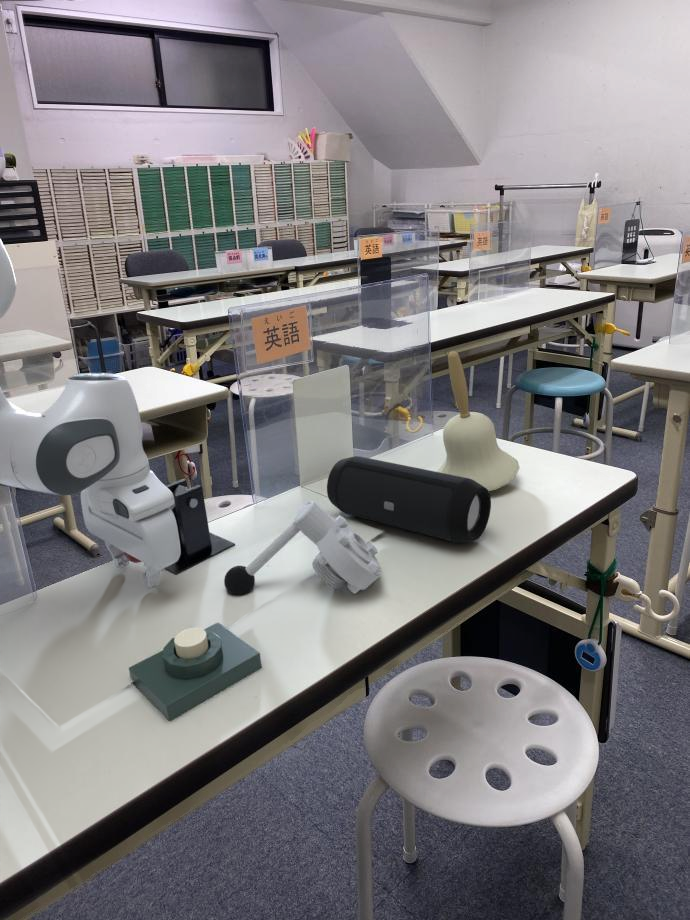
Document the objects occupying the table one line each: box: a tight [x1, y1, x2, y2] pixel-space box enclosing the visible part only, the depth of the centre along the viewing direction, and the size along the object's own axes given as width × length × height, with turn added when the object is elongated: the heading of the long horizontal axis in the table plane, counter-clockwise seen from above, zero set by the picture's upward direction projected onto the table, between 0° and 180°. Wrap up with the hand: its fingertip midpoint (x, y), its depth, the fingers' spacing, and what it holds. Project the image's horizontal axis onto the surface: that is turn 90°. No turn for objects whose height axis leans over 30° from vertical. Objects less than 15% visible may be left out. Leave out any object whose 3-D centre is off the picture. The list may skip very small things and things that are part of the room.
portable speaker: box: [326, 455, 492, 544], centre depth 109 cm, size 26×10×10 cm, turn 54°
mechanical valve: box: [223, 500, 383, 596], centre depth 94 cm, size 10×18×15 cm
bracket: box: [163, 478, 236, 576], centre depth 103 cm, size 11×8×12 cm
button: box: [173, 627, 208, 659], centre depth 77 cm, size 4×4×2 cm
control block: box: [128, 622, 263, 722], centre depth 78 cm, size 12×9×4 cm
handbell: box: [436, 350, 520, 492], centre depth 120 cm, size 15×15×25 cm
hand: (137, 574), depth 99 cm, fingers open, 7 cm apart
